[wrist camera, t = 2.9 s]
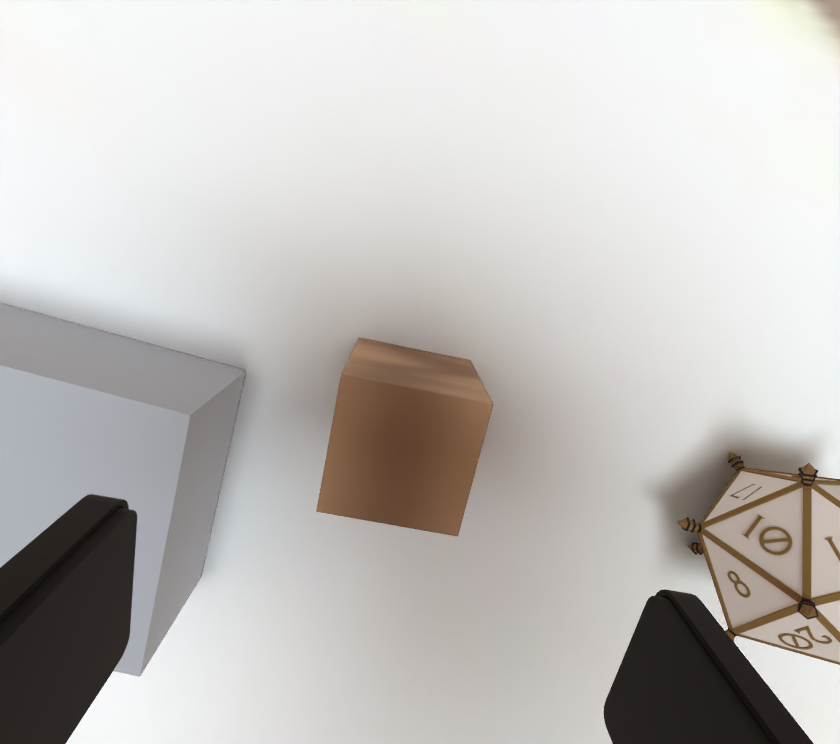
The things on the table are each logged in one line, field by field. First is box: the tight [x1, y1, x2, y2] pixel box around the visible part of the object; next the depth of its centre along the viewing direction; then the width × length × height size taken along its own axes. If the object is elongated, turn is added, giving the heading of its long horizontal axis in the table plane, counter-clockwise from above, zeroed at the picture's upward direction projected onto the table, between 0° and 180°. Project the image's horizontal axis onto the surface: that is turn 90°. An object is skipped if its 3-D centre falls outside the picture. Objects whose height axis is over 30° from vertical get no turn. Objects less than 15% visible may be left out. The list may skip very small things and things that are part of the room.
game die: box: [677, 453, 840, 665], centre depth 20 cm, size 9×8×10 cm
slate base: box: [0, 303, 246, 676], centre depth 20 cm, size 11×11×6 cm
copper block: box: [317, 338, 493, 536], centre depth 19 cm, size 5×5×6 cm
